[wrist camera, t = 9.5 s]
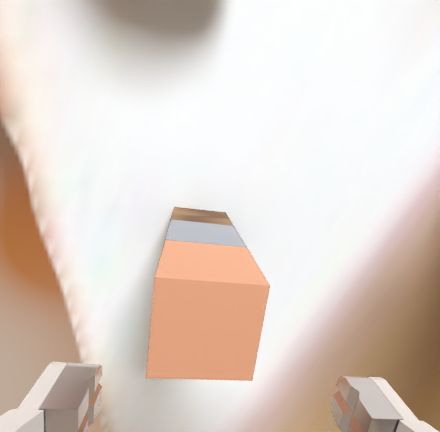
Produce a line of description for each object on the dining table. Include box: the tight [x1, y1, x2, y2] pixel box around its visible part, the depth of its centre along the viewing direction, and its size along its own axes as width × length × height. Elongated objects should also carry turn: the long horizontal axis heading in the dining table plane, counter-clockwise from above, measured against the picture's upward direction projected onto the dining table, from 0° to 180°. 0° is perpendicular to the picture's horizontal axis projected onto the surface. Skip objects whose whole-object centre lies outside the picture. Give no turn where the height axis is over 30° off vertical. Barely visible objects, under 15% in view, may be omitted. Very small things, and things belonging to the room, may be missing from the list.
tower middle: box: [165, 219, 246, 247], centre depth 19 cm, size 5×5×5 cm
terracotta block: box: [146, 240, 270, 381], centre depth 14 cm, size 5×5×5 cm
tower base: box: [170, 207, 233, 226], centre depth 24 cm, size 5×5×5 cm
